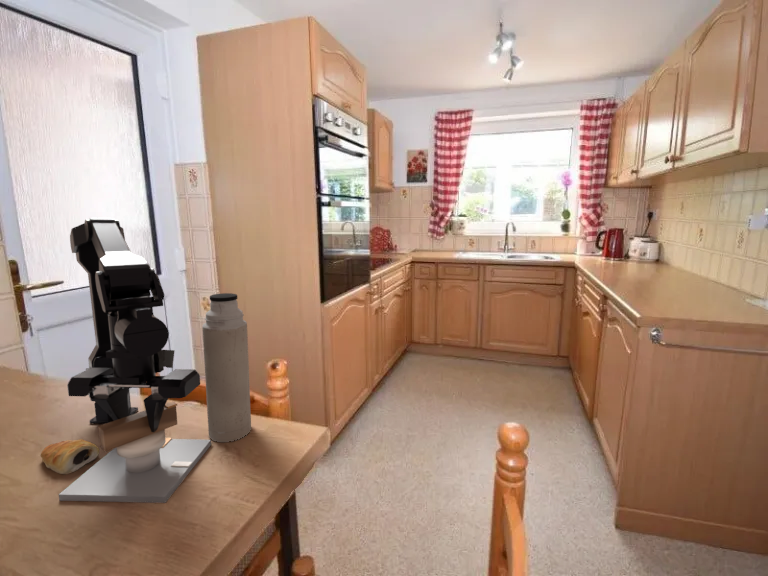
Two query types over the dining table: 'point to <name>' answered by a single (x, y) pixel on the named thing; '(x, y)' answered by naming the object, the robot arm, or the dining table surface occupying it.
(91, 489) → the plate
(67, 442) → the pastry
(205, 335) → the thermos bottle
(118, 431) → the rotary knob
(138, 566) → the dining table surface
